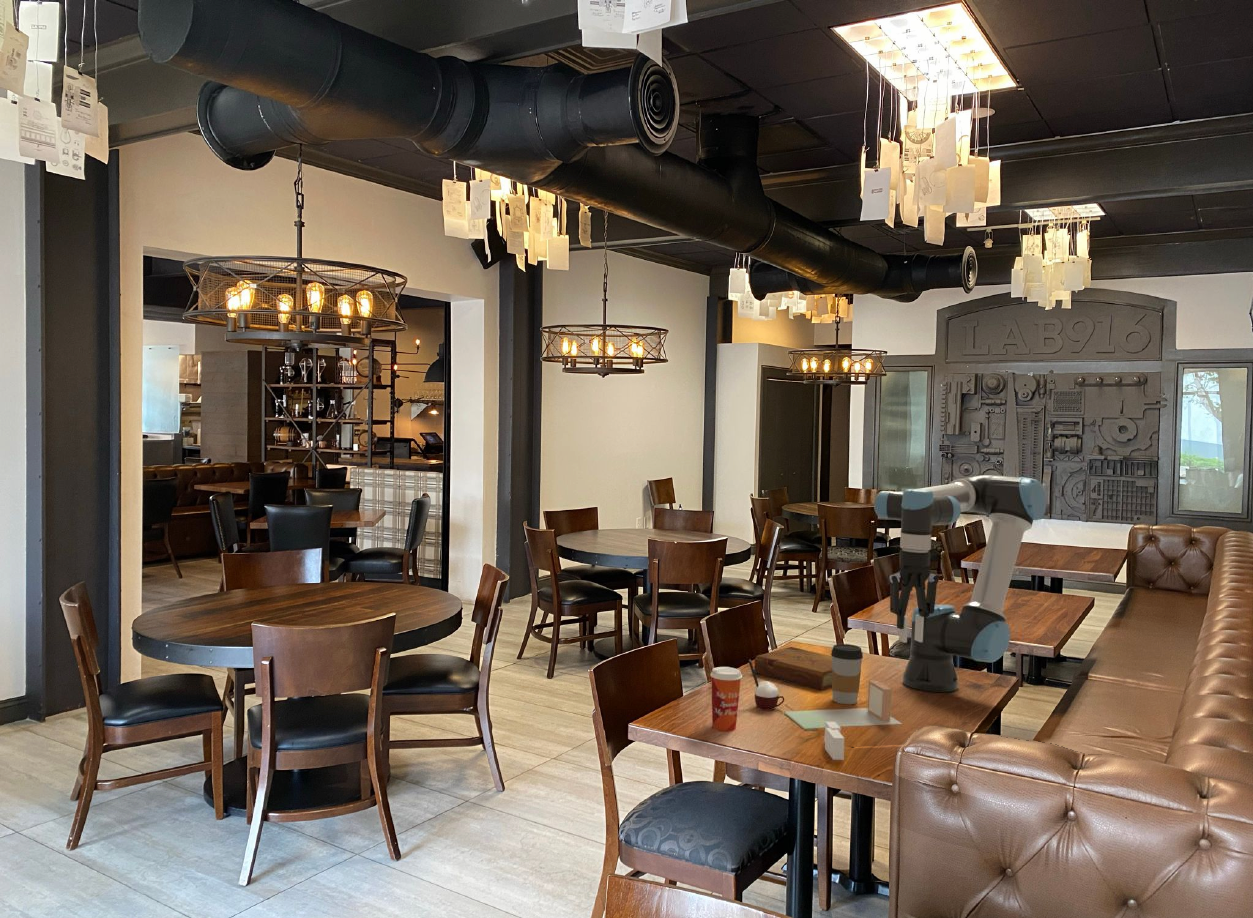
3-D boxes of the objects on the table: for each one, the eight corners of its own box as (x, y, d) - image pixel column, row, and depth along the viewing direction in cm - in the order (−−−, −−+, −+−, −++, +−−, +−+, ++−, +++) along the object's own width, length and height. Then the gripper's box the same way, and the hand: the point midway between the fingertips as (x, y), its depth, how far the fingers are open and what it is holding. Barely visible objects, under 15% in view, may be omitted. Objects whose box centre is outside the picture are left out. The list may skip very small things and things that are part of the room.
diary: (754, 675, 283) (754, 656, 283) (790, 665, 297) (790, 646, 296) (821, 692, 267) (822, 672, 267) (856, 680, 281) (856, 661, 281)
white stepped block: (846, 767, 211) (847, 741, 210) (798, 755, 217) (799, 730, 217) (871, 749, 223) (872, 724, 223) (825, 738, 229) (826, 714, 229)
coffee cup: (861, 709, 252) (864, 652, 251) (828, 706, 253) (831, 649, 253) (860, 700, 260) (862, 645, 259) (828, 697, 262) (831, 642, 261)
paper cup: (715, 733, 228) (717, 675, 228) (703, 723, 236) (705, 666, 235) (745, 731, 231) (748, 674, 230) (733, 721, 238) (735, 665, 237)
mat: (876, 709, 252) (877, 707, 252) (902, 725, 239) (902, 723, 239) (784, 713, 246) (784, 711, 246) (804, 730, 233) (804, 728, 233)
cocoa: (785, 709, 250) (790, 664, 250) (774, 714, 245) (779, 668, 245) (752, 700, 256) (757, 656, 255) (741, 705, 251) (746, 660, 250)
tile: (874, 710, 249) (876, 680, 248) (889, 720, 241) (891, 689, 241) (867, 711, 248) (868, 680, 248) (882, 721, 241) (884, 689, 240)
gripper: (936, 548, 250) (932, 637, 251) (877, 547, 246) (873, 638, 247) (952, 552, 243) (948, 644, 244) (892, 552, 239) (887, 645, 240)
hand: (910, 641), depth 246 cm, fingers open, 4 cm apart
